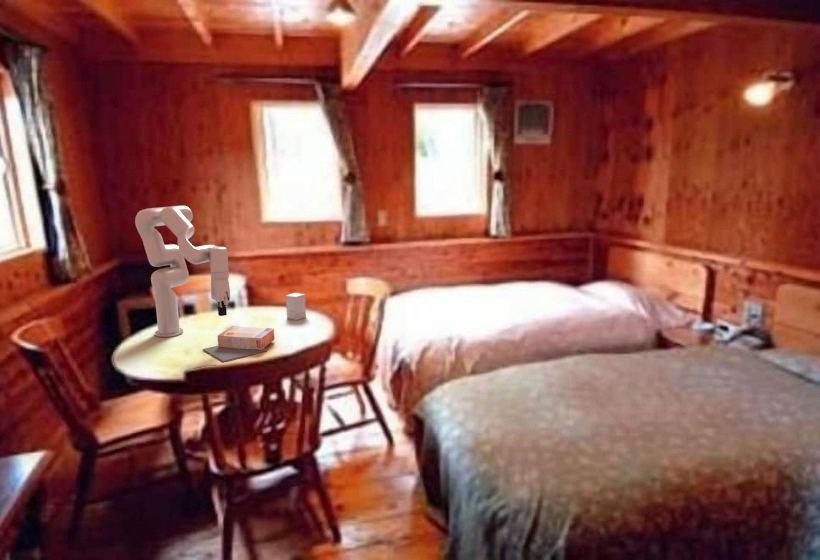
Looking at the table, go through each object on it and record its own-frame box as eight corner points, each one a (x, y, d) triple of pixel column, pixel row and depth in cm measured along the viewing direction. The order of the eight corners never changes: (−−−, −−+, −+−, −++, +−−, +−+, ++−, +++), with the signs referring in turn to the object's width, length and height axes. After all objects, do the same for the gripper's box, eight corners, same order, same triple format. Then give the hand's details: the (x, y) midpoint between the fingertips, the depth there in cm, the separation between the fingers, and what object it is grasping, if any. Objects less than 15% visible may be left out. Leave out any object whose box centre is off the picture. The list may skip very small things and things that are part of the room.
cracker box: (217, 348, 248) (261, 350, 245) (216, 335, 247) (260, 337, 243) (233, 338, 262) (275, 340, 258) (232, 325, 260) (274, 327, 257)
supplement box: (306, 317, 298) (305, 294, 296) (296, 320, 292) (295, 297, 290) (296, 315, 302) (295, 292, 300) (286, 318, 296) (285, 295, 293)
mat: (202, 350, 246) (202, 348, 246) (245, 340, 260) (245, 339, 260) (223, 362, 232) (223, 360, 232) (266, 351, 246) (266, 350, 245)
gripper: (204, 273, 249) (207, 313, 253) (219, 279, 238) (221, 320, 242) (220, 271, 254) (223, 310, 258) (235, 276, 243) (238, 317, 247)
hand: (222, 315), depth 250 cm, fingers closed
